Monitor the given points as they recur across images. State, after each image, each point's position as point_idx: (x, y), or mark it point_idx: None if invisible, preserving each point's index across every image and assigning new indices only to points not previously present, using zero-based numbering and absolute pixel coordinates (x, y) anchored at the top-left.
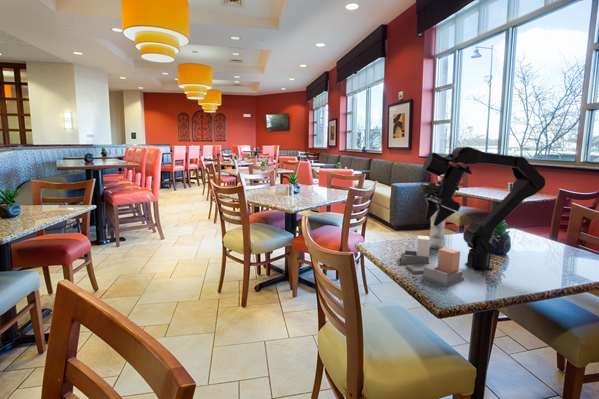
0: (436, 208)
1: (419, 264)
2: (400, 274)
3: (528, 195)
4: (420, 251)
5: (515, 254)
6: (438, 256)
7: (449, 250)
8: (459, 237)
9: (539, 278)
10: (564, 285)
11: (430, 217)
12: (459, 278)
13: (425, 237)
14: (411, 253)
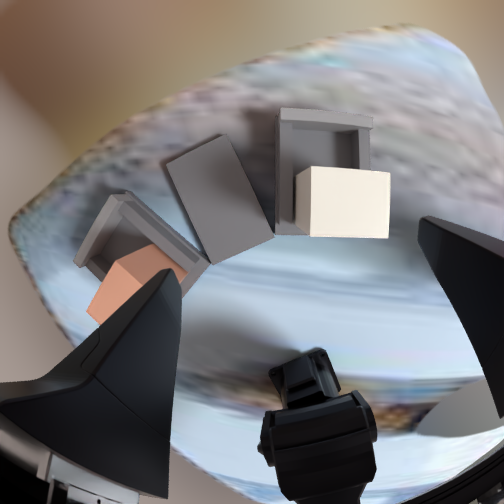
0: (491, 356)
1: (248, 184)
2: (152, 122)
3: None
4: (299, 187)
5: (414, 444)
6: (130, 254)
7: (116, 307)
8: None
9: (250, 462)
10: (221, 477)
11: (432, 267)
12: None
13: (357, 215)
14: (356, 159)
